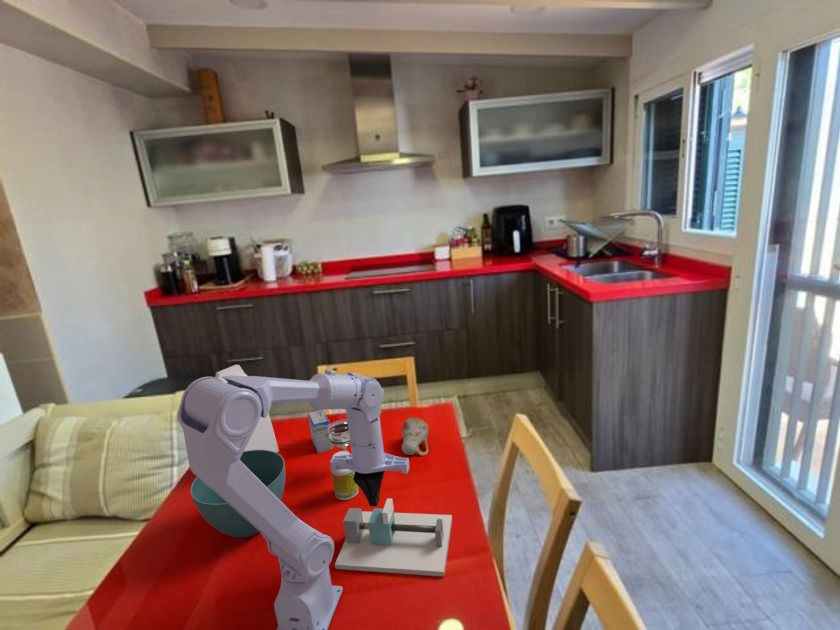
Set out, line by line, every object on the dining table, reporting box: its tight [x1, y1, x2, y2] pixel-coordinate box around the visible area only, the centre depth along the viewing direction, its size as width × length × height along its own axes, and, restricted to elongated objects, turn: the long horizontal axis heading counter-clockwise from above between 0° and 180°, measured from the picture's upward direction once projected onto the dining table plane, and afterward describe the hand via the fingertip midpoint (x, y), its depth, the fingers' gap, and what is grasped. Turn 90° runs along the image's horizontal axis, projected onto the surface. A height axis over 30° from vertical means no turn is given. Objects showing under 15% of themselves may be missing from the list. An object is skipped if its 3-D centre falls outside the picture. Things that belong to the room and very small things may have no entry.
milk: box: [214, 364, 280, 453], centre depth 116 cm, size 12×12×26 cm
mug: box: [401, 417, 429, 457], centre depth 117 cm, size 8×10×10 cm
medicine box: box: [307, 410, 334, 454], centre depth 122 cm, size 8×4×9 cm, turn 25°
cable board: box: [334, 507, 453, 577], centre depth 84 cm, size 14×20×6 cm
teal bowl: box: [190, 450, 286, 539], centre depth 93 cm, size 18×18×12 cm
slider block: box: [368, 498, 395, 544], centre depth 84 cm, size 4×4×7 cm
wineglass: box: [328, 419, 351, 452], centre depth 108 cm, size 7×7×12 cm
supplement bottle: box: [330, 450, 359, 501], centre depth 100 cm, size 5×5×10 cm
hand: (374, 502), depth 83 cm, fingers closed
